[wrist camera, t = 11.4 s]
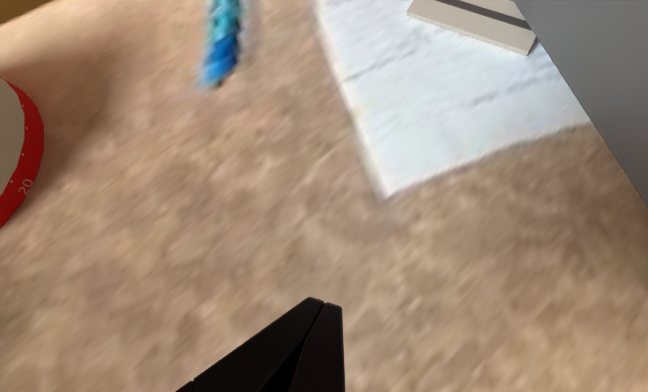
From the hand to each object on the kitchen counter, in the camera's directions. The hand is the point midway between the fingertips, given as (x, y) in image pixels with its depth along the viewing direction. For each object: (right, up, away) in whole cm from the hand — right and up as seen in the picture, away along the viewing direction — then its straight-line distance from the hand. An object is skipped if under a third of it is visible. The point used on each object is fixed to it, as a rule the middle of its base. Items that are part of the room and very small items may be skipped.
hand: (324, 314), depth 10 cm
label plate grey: (+10, +15, +16) cm, 25 cm away
